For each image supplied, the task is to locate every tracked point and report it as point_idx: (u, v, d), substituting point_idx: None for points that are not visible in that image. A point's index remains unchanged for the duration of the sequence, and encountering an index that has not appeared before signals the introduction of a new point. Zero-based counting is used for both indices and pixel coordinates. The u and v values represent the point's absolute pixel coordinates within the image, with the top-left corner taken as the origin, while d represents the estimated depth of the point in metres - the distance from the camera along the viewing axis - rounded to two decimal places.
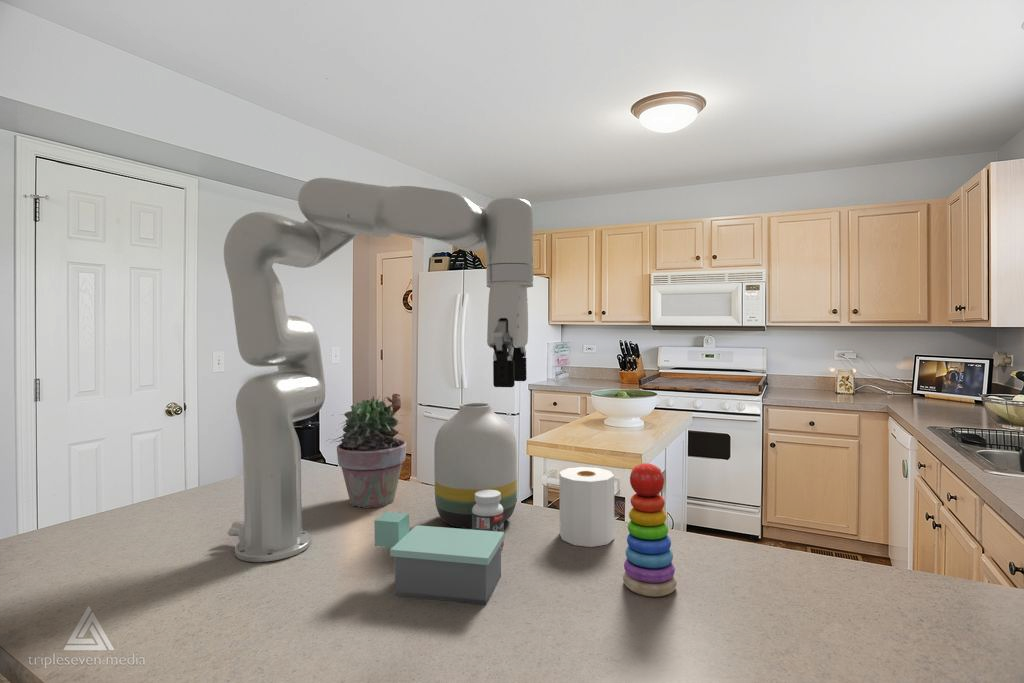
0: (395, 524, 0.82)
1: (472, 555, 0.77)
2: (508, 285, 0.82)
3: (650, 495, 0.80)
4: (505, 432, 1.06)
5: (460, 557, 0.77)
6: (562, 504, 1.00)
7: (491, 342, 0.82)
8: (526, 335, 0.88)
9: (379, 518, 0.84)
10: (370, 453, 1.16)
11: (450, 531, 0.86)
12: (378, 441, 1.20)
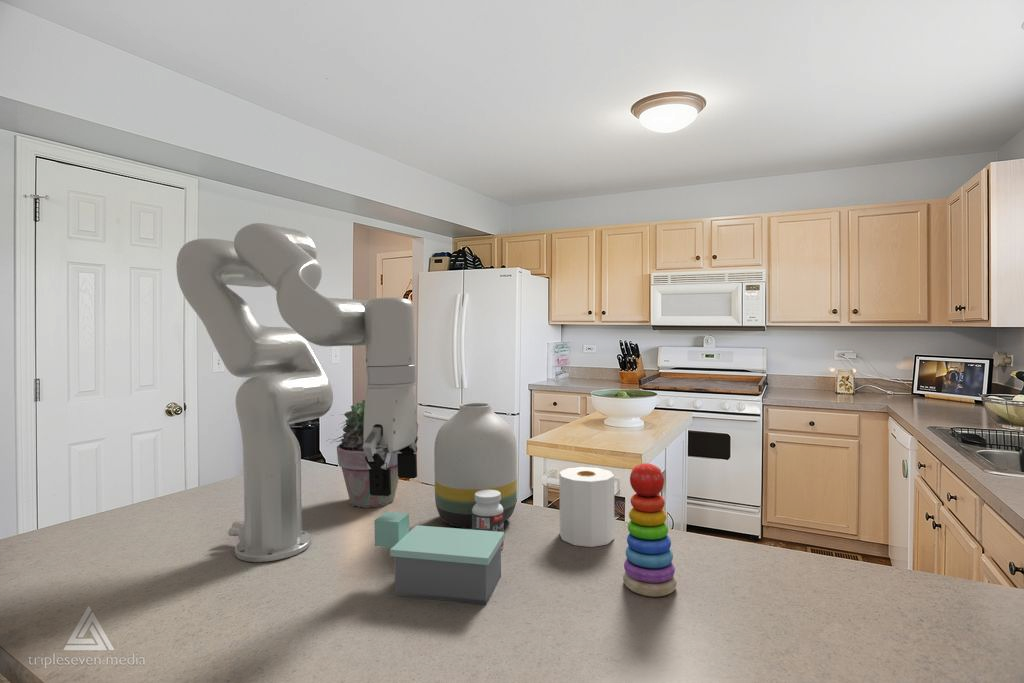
0: (395, 524, 0.82)
1: (472, 555, 0.77)
2: (383, 390, 0.79)
3: (650, 495, 0.80)
4: (505, 432, 1.06)
5: (460, 557, 0.77)
6: (562, 504, 1.00)
7: None
8: (412, 433, 0.86)
9: (379, 518, 0.84)
10: None
11: (450, 531, 0.86)
12: None
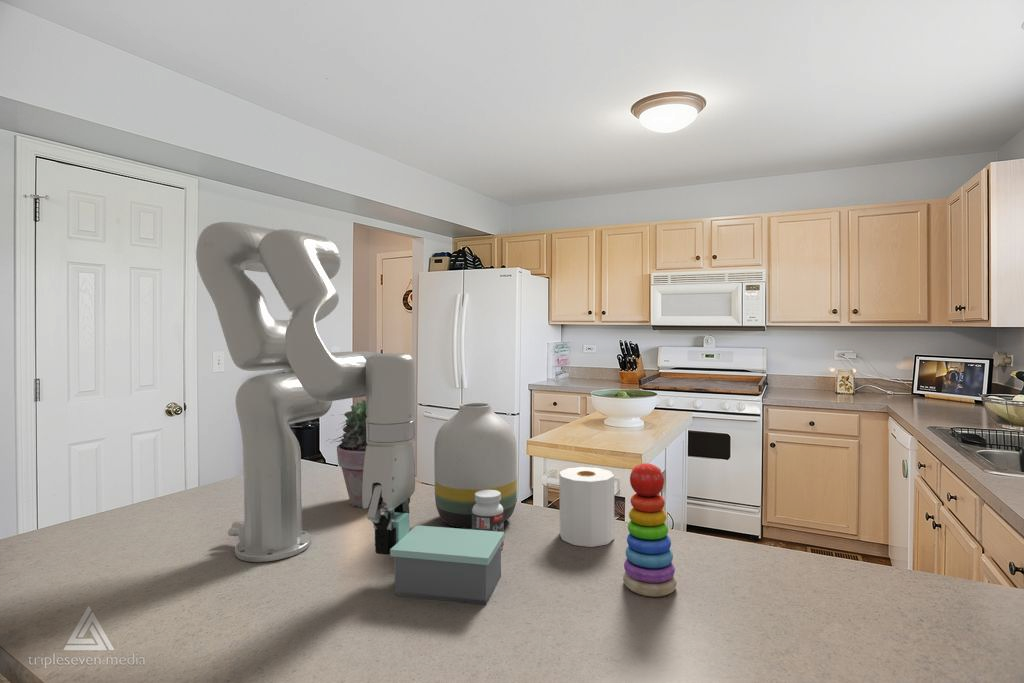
0: (395, 524, 0.82)
1: (472, 555, 0.77)
2: (383, 448, 0.80)
3: (650, 495, 0.80)
4: (505, 432, 1.06)
5: (460, 557, 0.77)
6: (562, 504, 1.00)
7: (365, 506, 0.80)
8: (410, 487, 0.86)
9: None
10: None
11: (450, 531, 0.86)
12: None
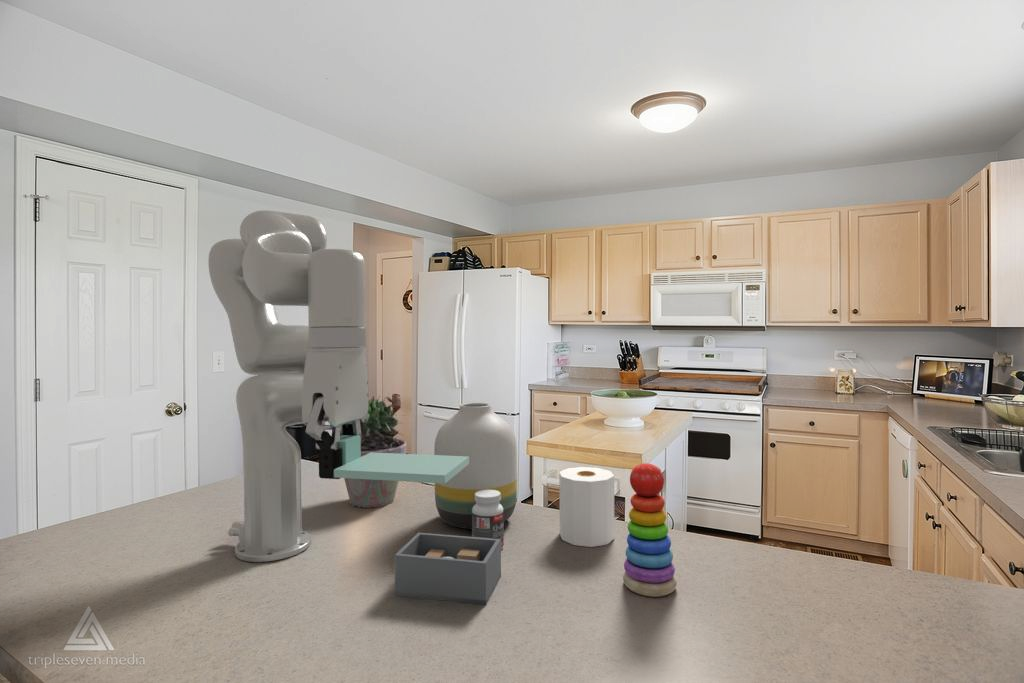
0: (342, 444, 0.71)
1: (427, 473, 0.66)
2: (325, 353, 0.69)
3: (650, 495, 0.80)
4: (505, 432, 1.06)
5: (412, 475, 0.66)
6: (562, 504, 1.00)
7: (305, 421, 0.69)
8: (362, 406, 0.75)
9: None
10: None
11: (407, 456, 0.75)
12: (378, 441, 1.20)
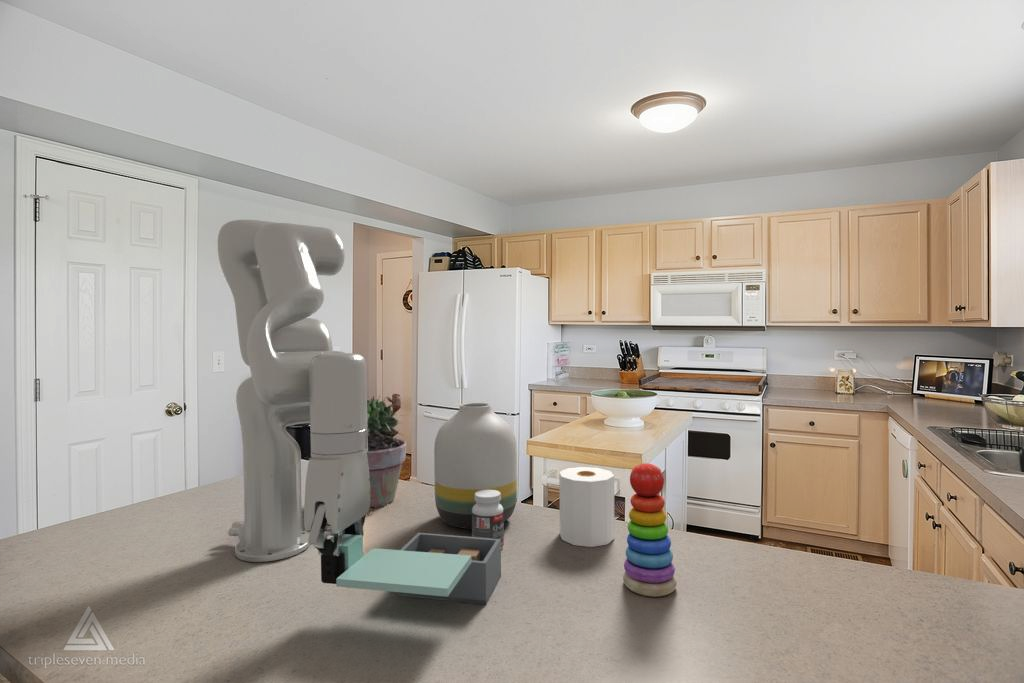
0: (344, 549, 0.72)
1: (430, 585, 0.66)
2: (327, 461, 0.69)
3: (650, 495, 0.80)
4: (505, 432, 1.06)
5: (415, 587, 0.66)
6: (562, 504, 1.00)
7: (307, 529, 0.69)
8: (363, 505, 0.76)
9: None
10: (370, 453, 1.16)
11: (409, 555, 0.76)
12: (378, 441, 1.20)
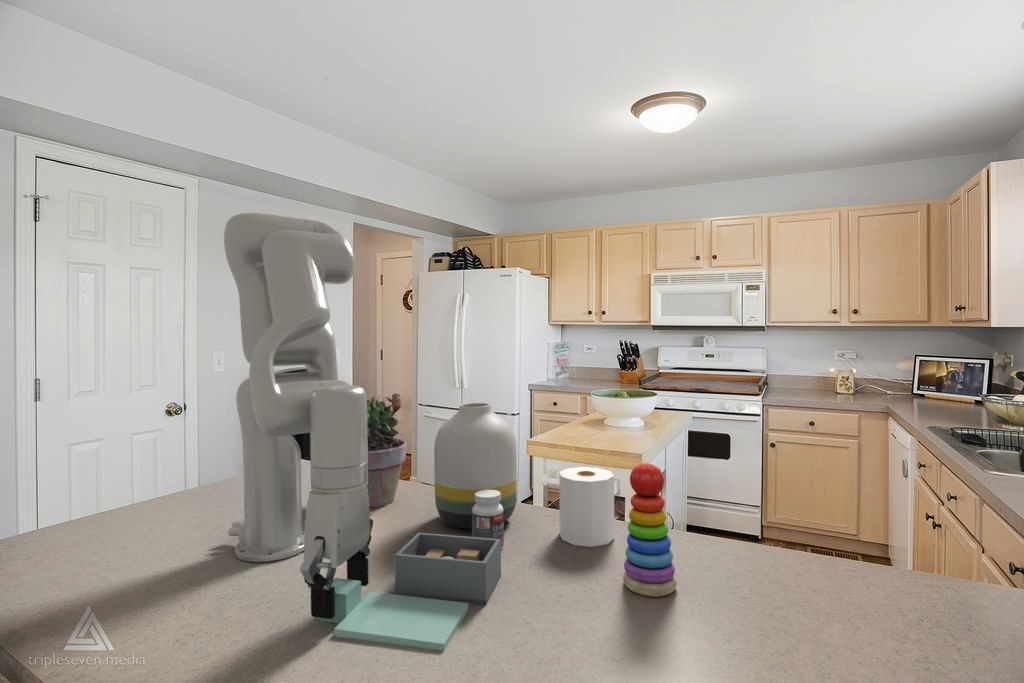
0: (342, 597, 0.72)
1: (427, 639, 0.67)
2: (327, 496, 0.70)
3: (650, 495, 0.80)
4: (505, 432, 1.06)
5: (412, 641, 0.67)
6: (562, 504, 1.00)
7: None
8: (363, 537, 0.76)
9: None
10: (370, 453, 1.16)
11: (407, 601, 0.76)
12: (378, 441, 1.20)
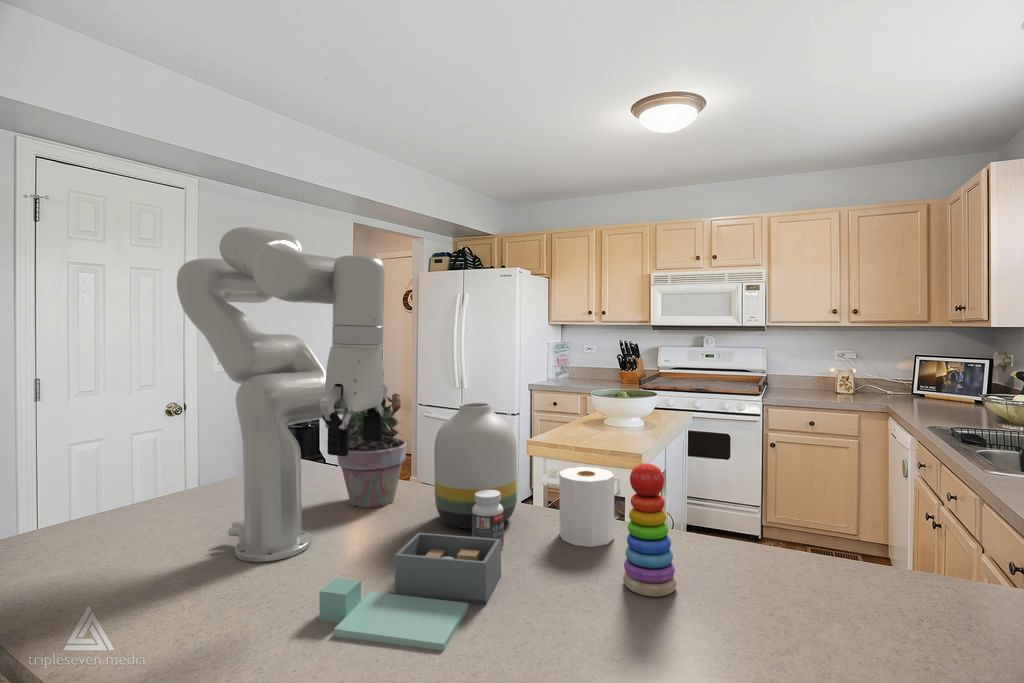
0: (342, 597, 0.72)
1: (427, 639, 0.67)
2: (346, 349, 0.78)
3: (650, 495, 0.80)
4: (505, 432, 1.06)
5: (412, 641, 0.67)
6: (562, 504, 1.00)
7: None
8: (377, 396, 0.84)
9: (325, 588, 0.74)
10: (370, 453, 1.16)
11: (407, 601, 0.76)
12: None
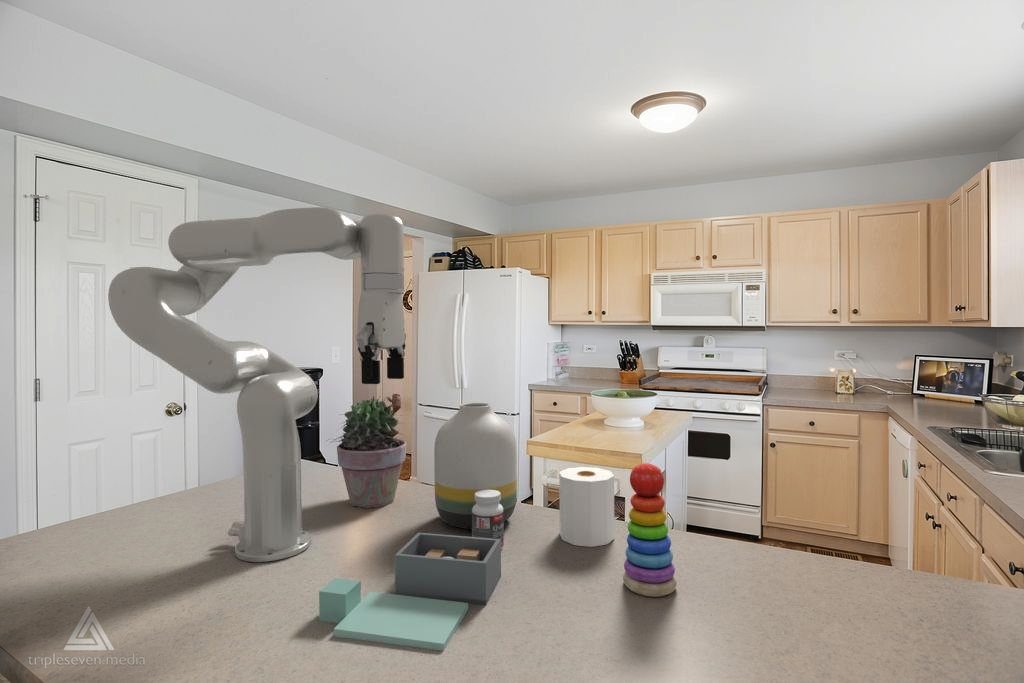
0: (342, 597, 0.72)
1: (426, 639, 0.67)
2: (375, 292, 0.91)
3: (650, 495, 0.80)
4: (505, 432, 1.06)
5: (412, 641, 0.67)
6: (562, 504, 1.00)
7: None
8: (400, 337, 0.98)
9: (325, 588, 0.74)
10: (370, 453, 1.16)
11: (407, 601, 0.76)
12: (378, 441, 1.20)
